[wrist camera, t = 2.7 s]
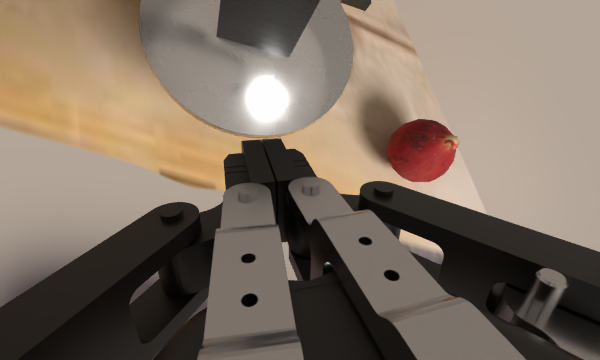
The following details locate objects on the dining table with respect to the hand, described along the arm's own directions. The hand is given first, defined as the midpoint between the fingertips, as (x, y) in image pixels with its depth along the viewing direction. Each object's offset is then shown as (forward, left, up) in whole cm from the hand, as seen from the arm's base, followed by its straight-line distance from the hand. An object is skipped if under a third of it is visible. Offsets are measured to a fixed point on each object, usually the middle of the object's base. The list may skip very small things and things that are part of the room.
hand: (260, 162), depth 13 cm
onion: (+17, +7, -16) cm, 24 cm away
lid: (0, +11, -9) cm, 14 cm away
